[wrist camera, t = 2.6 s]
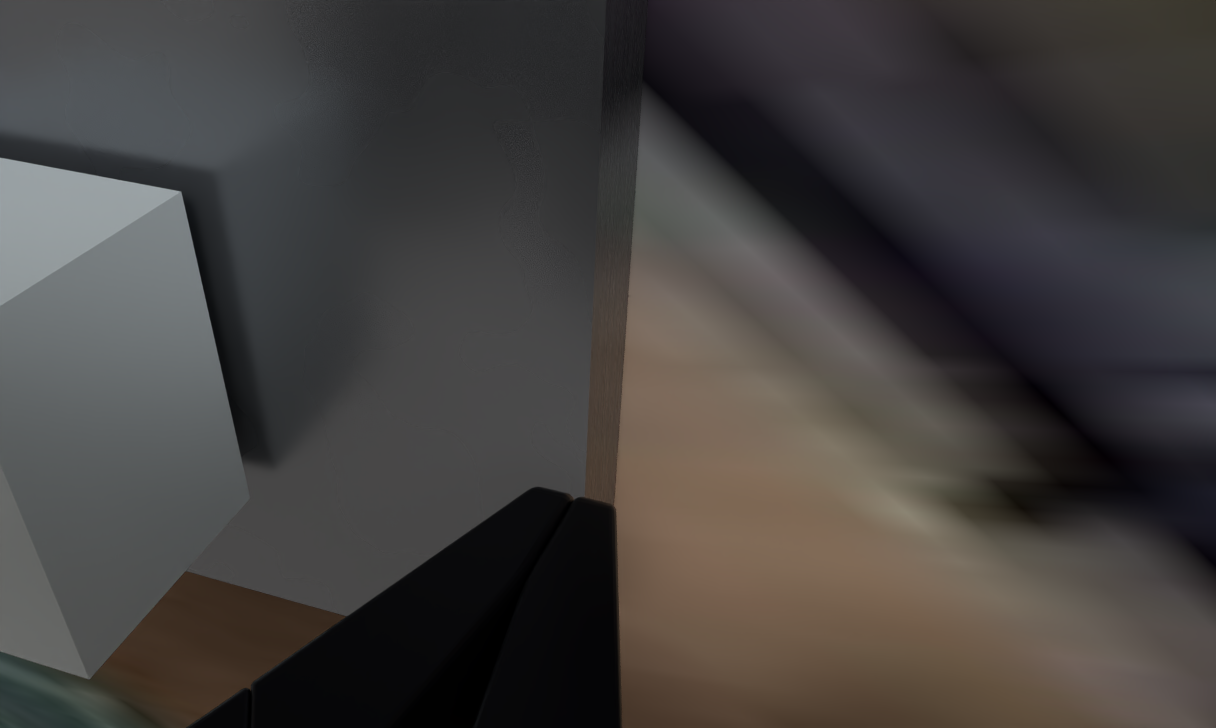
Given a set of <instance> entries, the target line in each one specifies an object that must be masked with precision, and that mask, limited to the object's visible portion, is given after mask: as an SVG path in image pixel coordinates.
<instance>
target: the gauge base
mask: <svg viewBox="0 0 1216 728" xmlns="http://www.w3.org/2000/svg"><path fill="white" fill-rule="evenodd" d="M647 7H648V0H0V158H4V159H10V160H15V161H20V162H26V163H31V164H37V165H42V166H47V167H53V168H58V169H63V170H69V171H74V172H79V173H85V174H90V175H95V176H101V177H106V178H111V179H117V180H122V181H127V182H133V183H138V184H143V185H149V186H154V187H159V188H165V189H170V190H175V191H181V193H182V197H183V202H184V206H185V210H186V215H187V219H188V224H189V228H190V233H191V237H192V242H193V246H194V250H195V255H196V259H197V264H198V268H199V273H200V277H201V282H202V286H203V290H204V295H205V299H206V304H207V308H208V313H209V317H210V322H211V326H212V331H213V335H214V339H215V344H216V348H217V353H218V357H219V362H220V366H221V371H222V375H223V379H224V384H225V388H226V393H227V397H228V402H229V406H230V411H231V415H232V419H233V424H234V428H235V433H236V437H237V442H238V446H239V451H240V455H241V459H242V464H243V468H244V473H245V477H246V482H247V486H248V491H249V495H250V499H249V500H248V501H247V502H246V503H245V505H244V506H243V507H242V508H241V509H240V510H239V511H238V512H237V514H236V515H235V516H234V517H233V518H232V519H231V520H230V522H229V523H228V524H227V525H226V526H225V527H224V528H223V529H222V531H221V532H220V533H219V534H218V535H217V536H216V537H215V538H214V540H213V541H212V542H211V543H210V544H209V545H208V546H207V547H206V549H205V550H204V551H203V552H202V553H201V554H200V555H199V556H198V558H197V559H196V560H195V561H194V562H193V563H192V564H191V566H190V567H189V568H188V569H187V570H186V571H187V572H191V573H194V574H198V575H202V576H205V577H209V578H212V579H216V580H219V581H223V582H227V583H230V584H234V585H237V586H241V587H244V588H248V589H251V590H255V591H259V592H262V593H266V594H269V595H273V596H276V597H280V598H284V599H287V600H291V601H294V602H298V603H301V604H305V605H308V606H312V607H316V608H319V609H323V610H326V611H330V612H333V613H337V614H341V615H344V616H348V615H350V614H351V613H353V612H354V611H355V610H357V609H358V608H360V607H361V606H363V605H364V604H365V603H367V602H368V601H370V600H371V599H373V598H374V597H375V596H377V595H378V594H380V593H381V592H383V591H384V590H386V589H387V588H388V587H390V586H391V585H393V584H394V583H396V582H397V581H398V580H400V579H401V578H403V577H404V576H406V575H407V574H408V573H410V572H411V571H413V570H414V569H416V568H417V567H418V566H420V565H421V564H423V563H424V562H426V561H427V560H428V559H430V558H431V557H433V556H434V555H436V554H437V553H438V552H440V551H441V550H443V549H444V548H446V547H447V546H448V545H450V544H451V543H453V542H454V541H456V540H457V539H459V538H460V537H461V536H463V535H464V534H466V533H467V532H469V531H470V530H471V529H473V528H474V527H476V526H477V525H479V524H480V523H481V522H483V521H484V520H486V519H487V518H489V517H490V516H491V515H493V514H494V513H496V512H497V511H499V510H500V509H501V508H503V507H504V506H506V505H507V504H509V503H510V502H511V501H513V500H514V499H516V498H517V497H519V496H520V495H521V494H523V493H524V492H526V491H527V490H529V489H531V488H533V487H544V488H548V489H552V490H556V491H561V492H565V493H568V494H570V495H571V496H572V497H573V498H574V499H576V498H578V497H586V498H590V499H594V500H598V501H603V502H607V503H610V504H612V505H614V498H615V483H616V468H617V453H618V438H619V423H620V408H621V393H622V379H623V364H624V349H625V334H626V319H627V304H628V289H629V274H630V260H631V245H632V230H633V215H634V200H635V185H636V170H637V155H638V141H639V126H640V111H641V96H642V81H643V66H644V51H645V36H646V22H647Z"/></svg>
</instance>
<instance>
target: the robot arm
mask: <svg viewBox="0 0 1216 728" xmlns="http://www.w3.org/2000/svg"><path fill="white" fill-rule="evenodd" d="M186 728H622V701H621V666H620V630H619V595H618V559H617V524H616V509H615V507H614V505H612V504H610V503H607V502H603V501H598V500H594V499H590V498H586V497H578V498H576V499H574V498H573V497H572V496H571V495H570V494H568V493H565V492H561V491H556V490H552V489H548V488H544V487H533V488H531V489H529V490H527V491H526V492H524V493H523V494H521V495H520V496H519V497H517V498H516V499H514V500H513V501H511V502H510V503H509V504H507V505H506V506H504V507H503V508H501V509H500V510H499V511H497V512H496V513H494V514H493V515H491V516H490V517H489V518H487V519H486V520H484V521H483V522H481V523H480V524H479V525H477V526H476V527H474V528H473V529H471V530H470V531H469V532H467V533H466V534H464V535H463V536H461V537H460V538H459V539H457V540H456V541H454V542H453V543H451V544H450V545H448V546H447V547H446V548H444V549H443V550H441V551H440V552H438V553H437V554H436V555H434V556H433V557H431V558H430V559H428V560H427V561H426V562H424V563H423V564H421V565H420V566H418V567H417V568H416V569H414V570H413V571H411V572H410V573H408V574H407V575H406V576H404V577H403V578H401V579H400V580H398V581H397V582H396V583H394V584H393V585H391V586H390V587H388V588H387V589H386V590H384V591H383V592H381V593H380V594H378V595H377V596H375V597H374V598H373V599H371V600H370V601H368V602H367V603H365V604H364V605H363V606H361V607H360V608H358V609H357V610H355V611H354V612H353V613H351V614H350V615H348V616H347V617H345V618H344V619H343V620H341V621H340V622H338V623H337V624H335V625H334V626H333V627H331V628H330V629H328V630H327V631H325V632H324V633H323V634H321V635H320V636H318V637H317V638H315V639H314V640H312V641H311V642H310V643H308V644H307V645H305V646H304V647H302V648H301V649H300V650H298V651H297V652H295V653H294V654H292V655H291V656H290V657H288V658H287V659H285V660H284V661H282V662H281V663H280V664H278V665H277V666H275V667H274V668H272V669H271V670H270V671H268V672H267V673H265V674H264V675H262V676H261V677H260V678H258V679H257V680H255V681H254V682H253V683H252V685H251V691H250V690H249V689H248V688H244V689H242V690H240V691H239V692H237V693H236V694H235V695H233V696H232V697H230V698H229V699H227V700H226V701H225V702H223V703H222V704H220V705H219V706H217V707H216V708H215V709H213V710H212V711H210V712H209V713H207V714H206V715H204V716H203V717H201V718H200V719H198V720H197V721H195V722H194V723H192V724H191V725H189V726H188V727H186Z"/></svg>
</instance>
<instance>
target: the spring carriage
mask: <svg viewBox="0 0 1216 728" xmlns="http://www.w3.org/2000/svg"><path fill="white" fill-rule="evenodd" d="M249 499H250V495H249V491H248V486H247V482H246V477H245V473H244V468H243V464H242V459H241V455H240V451H239V446H238V442H237V437H236V433H235V428H234V424H233V419H232V415H231V411H230V406H229V402H228V397H227V393H226V388H225V384H224V379H223V375H222V371H221V366H220V362H219V357H218V353H217V348H216V344H215V339H214V335H213V331H212V326H211V322H210V317H209V313H208V308H207V304H206V299H205V295H204V290H203V286H202V282H201V277H200V273H199V268H198V264H197V259H196V255H195V250H194V246H193V242H192V237H191V233H190V228H189V224H188V219H187V215H186V210H185V206H184V202H183V197H182V193H181V191H175V190H170V189H165V188H159V187H154V186H149V185H143V184H138V183H133V182H127V181H122V180H117V179H111V178H106V177H101V176H95V175H90V174H85V173H79V172H74V171H69V170H63V169H58V168H53V167H47V166H42V165H37V164H31V163H26V162H20V161H15V160H10V159H4V158H0V652H4V653H7V654H10V655H13V656H16V657H19V658H23V659H26V660H29V661H32V662H35V663H38V664H42V665H45V666H48V667H51V668H54V669H58V670H61V671H64V672H67V673H70V674H73V675H77V676H80V677H83V678H86V679H90V678H91V677H92V676H93V675H94V674H95V673H96V672H97V670H98V669H99V668H100V667H101V666H102V665H103V664H104V663H105V661H106V660H107V659H108V658H109V657H110V656H111V655H112V654H113V652H114V651H115V650H116V649H117V648H118V647H119V646H120V644H121V643H122V642H123V641H124V640H125V639H126V638H127V637H128V635H129V634H130V633H131V632H132V631H133V630H134V629H135V628H136V626H137V625H138V624H139V623H140V622H141V621H142V620H143V619H144V617H145V616H146V615H147V614H148V613H149V612H150V611H151V610H152V608H153V607H154V606H155V605H156V604H157V603H158V602H159V600H160V599H161V598H162V597H163V596H164V595H165V594H166V593H167V591H168V590H169V589H170V588H171V587H172V586H173V585H174V584H175V582H176V581H177V580H178V579H179V578H180V577H181V576H182V575H183V573H184V572H185V571H186V570H187V569H188V568H189V567H190V566H191V564H192V563H193V562H194V561H195V560H196V559H197V558H198V556H199V555H200V554H201V553H202V552H203V551H204V550H205V549H206V547H207V546H208V545H209V544H210V543H211V542H212V541H213V540H214V538H215V537H216V536H217V535H218V534H219V533H220V532H221V531H222V529H223V528H224V527H225V526H226V525H227V524H228V523H229V522H230V520H231V519H232V518H233V517H234V516H235V515H236V514H237V512H238V511H239V510H240V509H241V508H242V507H243V506H244V505H245V503H246V502H247V501H248V500H249Z"/></svg>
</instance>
